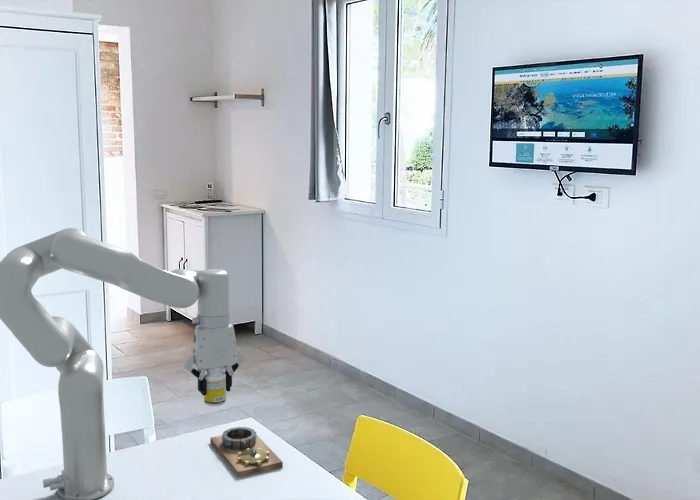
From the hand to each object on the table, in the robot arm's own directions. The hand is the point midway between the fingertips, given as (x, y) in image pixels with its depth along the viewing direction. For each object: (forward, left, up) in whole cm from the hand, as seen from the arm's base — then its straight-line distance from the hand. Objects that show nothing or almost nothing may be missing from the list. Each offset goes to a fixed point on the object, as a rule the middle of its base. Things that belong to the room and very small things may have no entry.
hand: (215, 390), depth 175 cm
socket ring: (+10, +10, -20) cm, 25 cm away
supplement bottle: (0, 0, -3) cm, 3 cm away
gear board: (+10, +6, -21) cm, 24 cm away
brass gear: (+10, 0, -20) cm, 22 cm away
